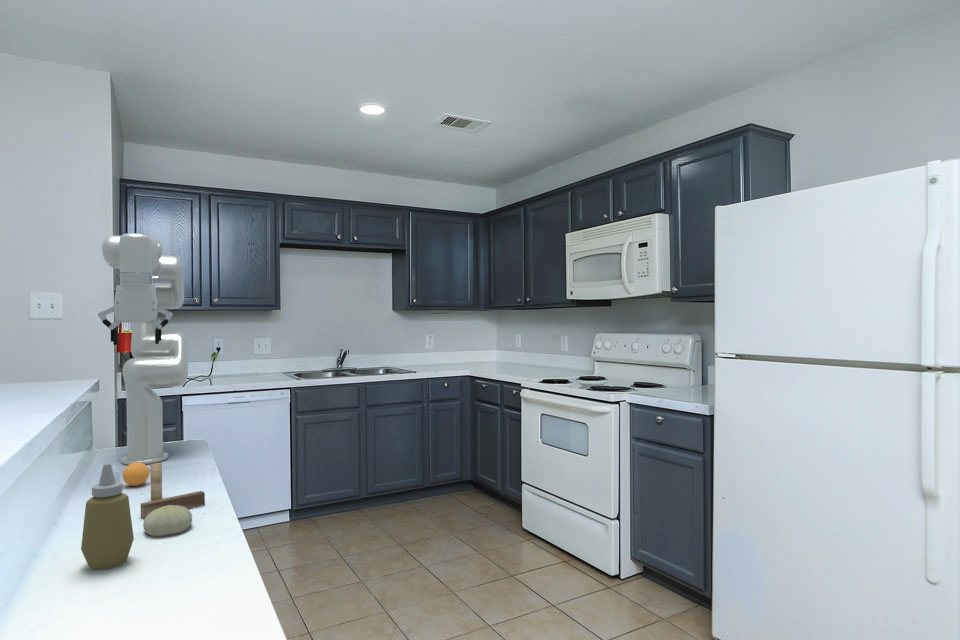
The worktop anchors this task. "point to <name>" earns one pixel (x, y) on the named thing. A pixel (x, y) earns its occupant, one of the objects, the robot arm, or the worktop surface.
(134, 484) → the ball
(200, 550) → the worktop surface
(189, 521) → the sea urchin shell
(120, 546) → the squeeze bottle
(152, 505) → the back wall
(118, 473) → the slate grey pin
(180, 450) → the worktop surface
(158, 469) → the maple pin
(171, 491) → the worktop surface
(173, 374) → the robot arm
